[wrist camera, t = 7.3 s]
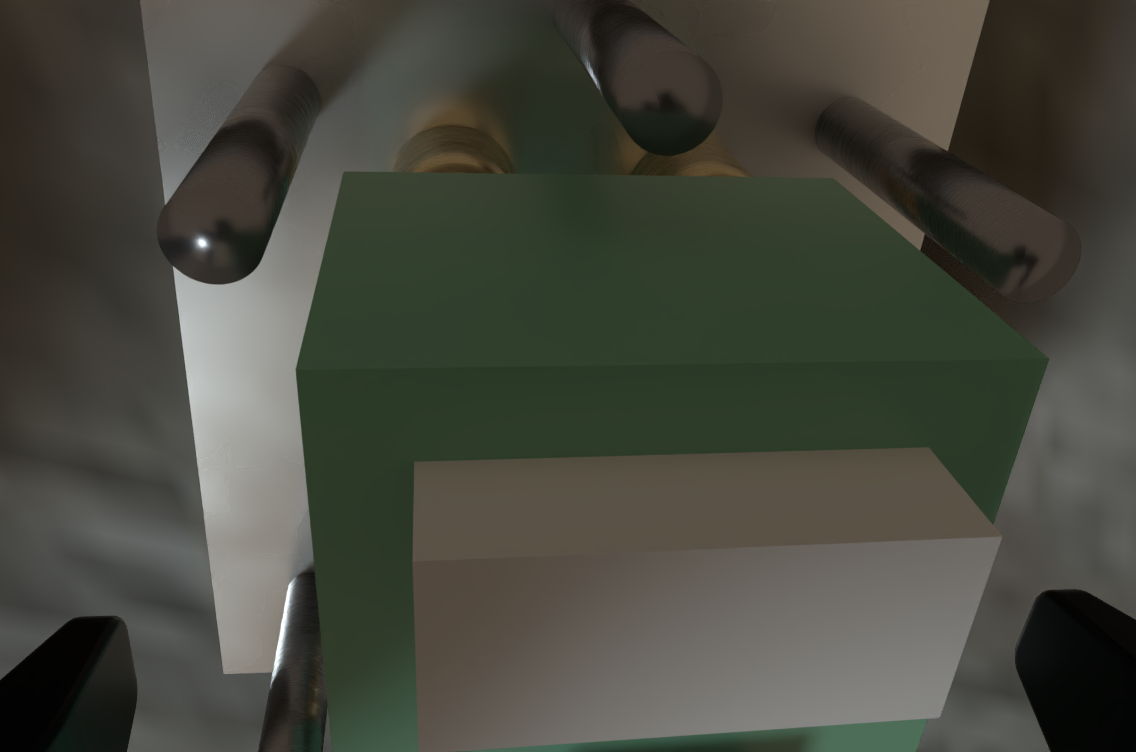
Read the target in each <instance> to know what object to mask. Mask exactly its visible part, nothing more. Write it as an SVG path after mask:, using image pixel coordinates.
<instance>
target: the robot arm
mask: <svg viewBox="0 0 1136 752" xmlns="http://www.w3.org/2000/svg"><path fill="white" fill-rule="evenodd" d="M1015 664H1016V669H1017V672H1018V675H1019V677H1020V680H1021V682H1022V684H1023V687H1024V689H1025V692H1026V694H1027V696H1028V699H1029V701H1030V704H1031V706H1032V708H1033V711H1034V713H1035V716H1036V718H1037V720H1038V723H1039V725H1040V728H1041V730H1042V732H1043V735H1044V737H1045V740H1046V742H1047V744H1048V747H1049V749H1050V752H1136V620H1135V619H1133V618H1132V617H1130V616H1128V615H1126V614H1125V613H1123V612H1121V611H1119V610H1118V609H1116V608H1114V607H1112V606H1111V605H1109V604H1107V603H1105V602H1104V601H1102V600H1100V599H1098V598H1097V597H1095V596H1093V595H1091V594H1090V593H1088V592H1086V591H1082V590H1077V589H1066V590H1047V591H1044V592H1042V593H1041V594H1040V595H1039V596H1038V597H1037V598H1036V600H1035V601H1034V604H1033V606H1032V609H1031V611H1030V613H1029V616H1028V618H1027V621H1026V623H1025V625H1024V628H1023V630H1022V633H1021V635H1020V637H1019V640H1018V642H1017V645H1016V648H1015ZM136 702H137V679H136V673H135V668H134V662H133V657H132V652H131V646H130V641H129V635H128V630H127V626H126V624H125V622H124V621H123V619H122V618H120V617H118V616H86V617H77V618H74V619H72V620H70V621H68V622H67V623H66V624H64V625H63V626H62V627H61V628H60V629H59V630H57V631H56V632H55V633H54V634H53V635H52V636H51V637H49V638H48V639H47V640H46V641H45V642H44V643H42V644H41V645H40V646H39V647H38V648H37V649H35V650H34V651H33V652H32V653H31V654H30V655H29V656H27V657H26V658H25V659H24V660H23V661H22V662H20V663H19V664H18V665H17V666H16V667H15V668H14V669H12V670H11V671H10V672H9V673H8V674H7V675H5V676H4V677H3V678H2V679H1V680H0V752H127V748H128V743H129V739H130V734H131V729H132V724H133V719H134V714H135V709H136Z"/></svg>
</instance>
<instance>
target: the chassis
mask: <svg viewBox="0 0 1136 752" xmlns="http://www.w3.org/2000/svg"><path fill="white" fill-rule="evenodd" d="M989 1H990V0H140V6H141V14H142V22H143V30H144V38H145V46H146V54H147V62H148V70H149V78H150V86H151V94H152V102H153V110H154V118H155V126H156V134H157V142H158V150H159V158H160V166H161V174H162V182H163V190H164V198H165V207H164V208H163V210H162V211H161V214H160V216H159V220H158V225H157V235H158V240H159V244H160V247H161V249H162V251H163V253H164V255H165V256H166V258H167V259H168V261H169V262H170V263H171V264H172V265H173V270H174V278H175V286H176V294H177V303H178V311H179V319H180V327H181V335H182V343H183V351H184V359H185V367H186V375H187V383H188V391H189V399H190V407H191V415H192V423H193V431H194V439H195V447H196V455H197V463H198V471H199V479H200V487H201V495H202V503H203V511H204V519H205V527H206V535H207V543H208V551H209V559H210V567H211V575H212V583H213V591H214V599H215V607H216V616H217V624H218V632H219V640H220V648H221V656H222V664H223V672H224V674H235V673H262V672H273V673H272V678H271V684H270V689H269V695H268V700H267V706H266V711H265V717H264V722H263V728H262V733H261V739H260V744H259V750H258V752H323V743H324V734H325V725H326V716H327V707H328V704H327V693H326V683H325V673H324V662H323V652H322V641H321V631H320V621H319V610H318V600H317V589H316V579H315V569H314V558H313V548H312V537H311V527H310V516H309V506H308V496H307V485H306V475H305V464H304V454H303V444H302V433H301V423H300V412H299V402H298V392H297V381H296V371H295V369H296V365H297V361H298V357H299V353H300V349H301V345H302V341H303V337H304V332H305V328H306V324H307V320H308V316H309V312H310V308H311V304H312V300H313V295H314V291H315V287H316V283H317V279H318V275H319V271H320V267H321V262H322V258H323V254H324V250H325V246H326V242H327V238H328V234H329V230H330V225H331V221H332V217H333V213H334V209H335V205H336V201H337V197H338V193H339V188H340V184H341V180H342V176H343V172H344V171H350V172H424V173H498V174H572V175H647V176H721V177H795V178H834V179H835V180H836V181H838V182H839V183H840V184H841V185H842V186H843V187H845V188H846V189H847V190H848V191H849V192H851V193H852V194H853V195H854V196H855V197H857V198H858V199H859V200H860V201H861V202H863V203H864V204H865V205H866V206H867V207H869V208H870V209H871V210H872V211H873V212H875V213H876V214H877V215H878V216H879V217H880V218H882V219H883V220H884V221H885V222H886V223H888V224H889V225H890V226H891V227H892V228H894V229H895V230H896V231H897V232H898V233H900V234H901V235H902V236H903V237H904V238H906V239H907V240H908V241H909V242H910V243H912V244H913V245H914V246H915V247H916V248H917V249H919V250H920V249H921V246H922V242H923V239H924V235H925V234H926V235H927V236H928V237H930V238H931V239H932V240H933V241H935V242H936V243H937V244H938V245H940V246H941V247H942V248H943V249H945V250H946V251H947V252H948V253H950V254H951V255H952V256H953V257H955V258H956V259H957V260H958V261H960V262H961V263H962V264H963V265H965V266H966V267H967V268H969V269H970V270H971V271H972V272H974V273H975V274H976V275H977V276H979V277H980V278H981V279H982V280H984V281H985V282H986V283H987V284H989V285H990V286H991V287H992V288H994V289H995V290H996V291H997V292H999V293H1000V294H1001V295H1002V296H1004V297H1005V298H1007V299H1008V300H1010V301H1013V302H1017V303H1033V302H1037V301H1040V300H1043V299H1045V298H1047V297H1049V296H1051V295H1053V294H1054V293H1056V292H1057V291H1058V290H1059V289H1061V288H1062V287H1063V286H1064V285H1065V284H1066V283H1067V282H1068V280H1069V279H1070V278H1071V276H1072V275H1073V273H1074V272H1075V270H1076V268H1077V266H1078V263H1079V260H1080V255H1081V242H1080V239H1079V236H1078V234H1077V232H1076V231H1075V229H1074V228H1073V227H1072V226H1070V225H1069V224H1067V223H1066V222H1064V221H1062V220H1061V219H1059V218H1057V217H1056V216H1054V215H1052V214H1051V213H1049V212H1047V211H1046V210H1044V209H1043V208H1041V207H1039V206H1038V205H1036V204H1034V203H1033V202H1031V201H1029V200H1028V199H1026V198H1024V197H1023V196H1021V195H1019V194H1018V193H1016V192H1014V191H1013V190H1011V189H1009V188H1008V187H1006V186H1004V185H1003V184H1001V183H999V182H998V181H996V180H994V179H993V178H991V177H989V176H988V175H986V174H985V173H983V172H981V171H980V170H978V169H976V168H975V167H973V166H971V165H970V164H968V163H966V162H965V161H963V160H961V159H960V158H958V157H956V156H955V155H953V154H951V153H950V152H948V148H949V145H950V141H951V138H952V134H953V130H954V127H955V123H956V120H957V116H958V112H959V109H960V105H961V102H962V98H963V94H964V91H965V87H966V84H967V80H968V76H969V73H970V69H971V66H972V62H973V58H974V55H975V51H976V48H977V44H978V40H979V37H980V33H981V30H982V26H983V22H984V19H985V15H986V12H987V8H988V4H989Z"/></svg>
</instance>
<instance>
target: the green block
mask: <svg viewBox="0 0 1136 752" xmlns="http://www.w3.org/2000/svg"><path fill="white" fill-rule="evenodd" d="M1048 361H1049V358H1048V357H1046V356H1045V355H1044V354H1043V353H1042V352H1040V351H1039V350H1038V349H1037V348H1036V347H1034V346H1033V345H1032V344H1031V343H1030V342H1028V341H1027V340H1026V339H1025V338H1024V337H1022V336H1021V335H1020V334H1019V333H1018V332H1017V331H1015V330H1014V329H1013V328H1012V327H1011V326H1009V325H1008V324H1007V323H1006V322H1005V321H1003V320H1002V319H1001V318H1000V317H999V316H997V315H996V314H995V313H994V312H993V311H991V310H990V309H989V308H988V307H987V306H985V305H984V304H983V303H982V302H981V301H980V300H978V299H977V298H976V297H975V296H974V295H972V294H971V293H970V292H969V291H968V290H966V289H965V288H964V287H963V286H962V285H960V284H959V283H958V282H957V281H956V280H954V279H953V278H952V277H951V276H950V275H949V274H947V273H946V272H945V271H944V270H943V269H941V268H940V267H939V266H938V265H937V264H935V263H934V262H933V261H932V260H931V259H929V258H928V257H927V256H926V255H925V254H923V253H922V252H921V251H920V250H919V249H917V248H916V247H915V246H914V245H913V244H912V243H910V242H909V241H908V240H907V239H906V238H904V237H903V236H902V235H901V234H900V233H898V232H897V231H896V230H895V229H894V228H892V227H891V226H890V225H889V224H888V223H886V222H885V221H884V220H883V219H882V218H880V217H879V216H878V215H877V214H876V213H875V212H873V211H872V210H871V209H870V208H869V207H867V206H866V205H865V204H864V203H863V202H861V201H860V200H859V199H858V198H857V197H855V196H854V195H853V194H852V193H851V192H849V191H848V190H847V189H846V188H845V187H843V186H842V185H841V184H840V183H839V182H838V181H836V180H835V179H834V178H795V177H721V176H647V175H572V174H498V173H424V172H350V171H344V172H343V176H342V180H341V184H340V188H339V193H338V197H337V201H336V205H335V209H334V213H333V217H332V221H331V225H330V230H329V234H328V238H327V242H326V246H325V250H324V254H323V258H322V262H321V267H320V271H319V275H318V279H317V283H316V287H315V291H314V295H313V300H312V304H311V308H310V312H309V316H308V320H307V324H306V328H305V332H304V337H303V341H302V345H301V349H300V353H299V357H298V361H297V365H296V369H295V371H296V381H297V392H298V402H299V412H300V423H301V433H302V444H303V454H304V464H305V475H306V485H307V496H308V506H309V516H310V527H311V537H312V548H313V558H314V569H315V579H316V589H317V600H318V610H319V621H320V631H321V641H322V652H323V662H324V673H325V683H326V693H327V704H328V714H329V725H330V735H331V745H332V752H917V749H918V746H919V743H920V740H921V737H922V734H923V731H924V728H925V725H926V722H927V719H928V718H940V715H941V712H942V709H943V707H944V704H945V701H946V698H947V695H948V692H949V689H950V686H951V683H952V681H953V678H954V675H955V672H956V669H957V666H958V663H959V660H960V657H961V655H962V652H963V649H964V646H965V643H966V640H967V637H968V634H969V631H970V629H971V626H972V623H973V620H974V617H975V614H976V611H977V608H978V605H979V603H980V600H981V597H982V594H983V591H984V588H985V585H986V582H987V579H988V577H989V574H990V571H991V568H992V565H993V562H994V559H995V556H996V553H997V551H998V548H999V545H1000V542H1001V539H1002V536H1001V534H1000V533H999V532H998V531H997V529H996V528H995V527H994V526H993V524H994V521H995V518H996V515H997V512H998V509H999V506H1000V503H1001V500H1002V497H1003V494H1004V491H1005V488H1006V485H1007V482H1008V479H1009V476H1010V473H1011V470H1012V467H1013V464H1014V461H1015V459H1016V456H1017V453H1018V450H1019V447H1020V444H1021V441H1022V438H1023V435H1024V432H1025V429H1026V426H1027V423H1028V420H1029V417H1030V414H1031V411H1032V408H1033V405H1034V402H1035V399H1036V396H1037V393H1038V390H1039V387H1040V384H1041V382H1042V379H1043V376H1044V373H1045V370H1046V367H1047V364H1048Z"/></svg>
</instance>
